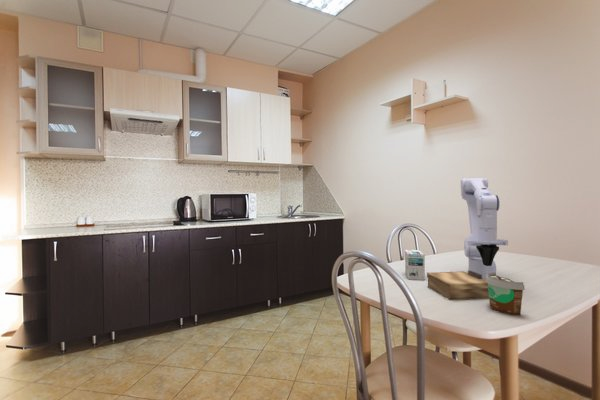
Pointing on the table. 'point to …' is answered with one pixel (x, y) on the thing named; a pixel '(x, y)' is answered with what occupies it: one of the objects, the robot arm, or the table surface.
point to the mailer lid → (460, 279)
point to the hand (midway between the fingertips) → (487, 265)
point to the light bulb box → (415, 264)
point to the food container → (504, 294)
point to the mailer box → (458, 293)
